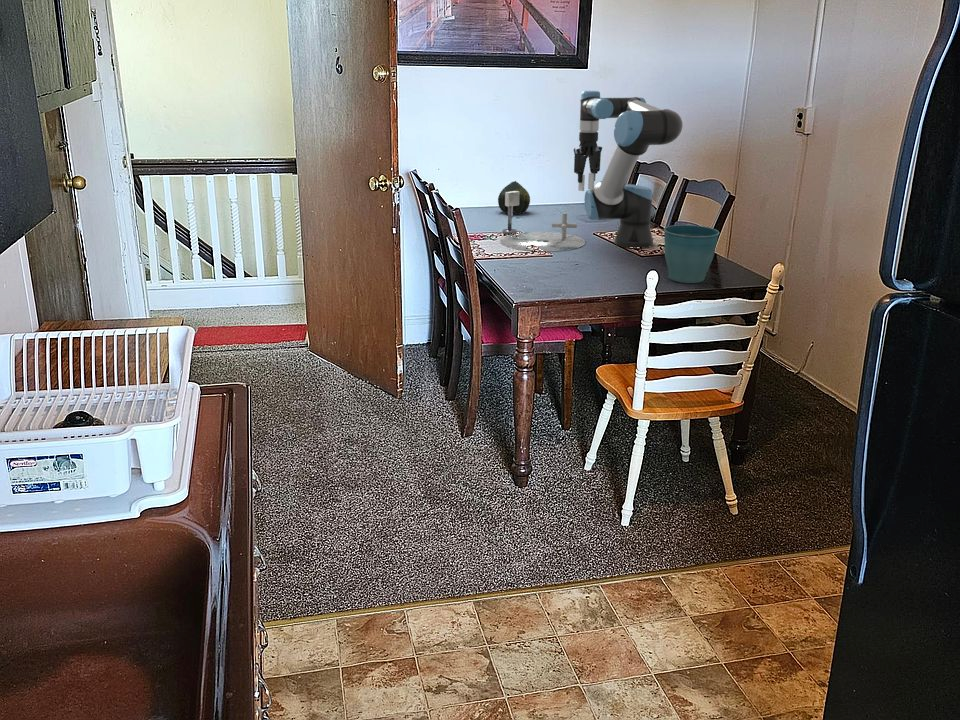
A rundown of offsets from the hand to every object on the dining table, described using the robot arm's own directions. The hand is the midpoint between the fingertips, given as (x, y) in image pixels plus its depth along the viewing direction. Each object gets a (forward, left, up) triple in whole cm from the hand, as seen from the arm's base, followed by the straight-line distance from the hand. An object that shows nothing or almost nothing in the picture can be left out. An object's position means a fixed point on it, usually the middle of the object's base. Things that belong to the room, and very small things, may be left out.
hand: (586, 189), depth 350 cm
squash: (+55, -5, -19) cm, 58 cm away
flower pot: (-72, +17, -19) cm, 76 cm away
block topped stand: (+21, +23, -19) cm, 36 cm away
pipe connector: (0, +11, -19) cm, 22 cm away
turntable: (0, +22, -19) cm, 29 cm away
